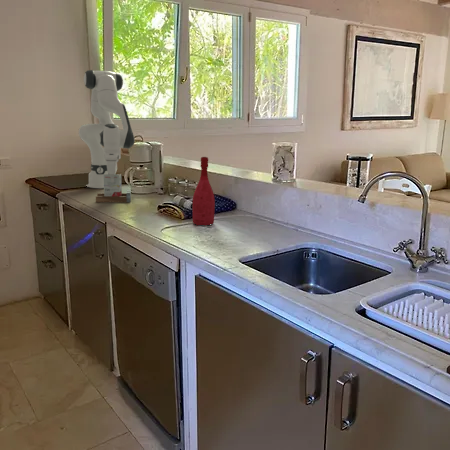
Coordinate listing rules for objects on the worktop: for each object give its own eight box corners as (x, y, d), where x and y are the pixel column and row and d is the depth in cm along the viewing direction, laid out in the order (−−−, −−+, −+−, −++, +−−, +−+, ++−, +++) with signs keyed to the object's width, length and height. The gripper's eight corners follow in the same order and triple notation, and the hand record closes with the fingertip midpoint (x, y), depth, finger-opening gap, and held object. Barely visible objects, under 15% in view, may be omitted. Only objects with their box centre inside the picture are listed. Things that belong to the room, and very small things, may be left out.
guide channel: (97, 198, 256) (97, 189, 254) (130, 198, 259) (130, 189, 258) (95, 202, 246) (95, 193, 244) (130, 202, 249) (130, 193, 248)
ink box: (122, 195, 253) (121, 174, 251) (119, 197, 249) (119, 175, 246) (106, 195, 254) (106, 173, 251) (103, 196, 249) (103, 174, 247)
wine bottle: (217, 222, 210) (219, 156, 203) (209, 227, 201) (211, 158, 194) (197, 220, 213) (198, 155, 206) (188, 225, 204) (189, 157, 197)
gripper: (107, 153, 256) (108, 178, 259) (104, 157, 236) (105, 184, 240) (119, 153, 257) (119, 178, 260) (117, 157, 237) (118, 184, 241)
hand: (113, 181), depth 250 cm, fingers closed on ink box, 5 cm apart
